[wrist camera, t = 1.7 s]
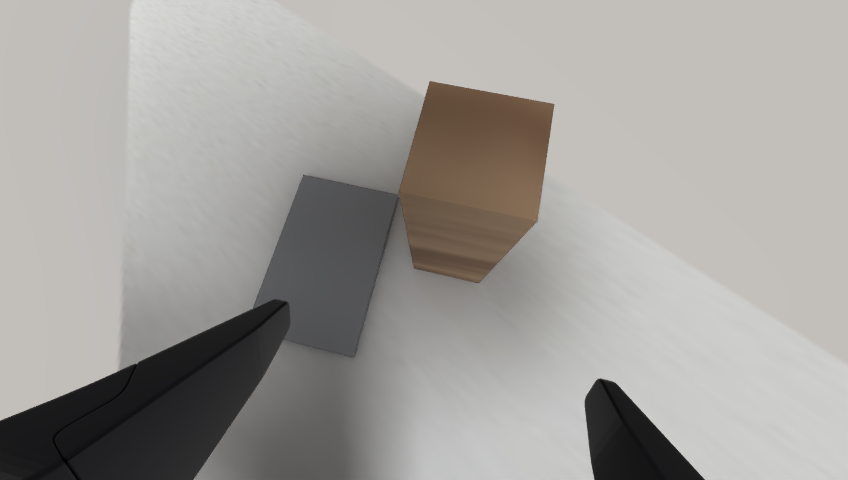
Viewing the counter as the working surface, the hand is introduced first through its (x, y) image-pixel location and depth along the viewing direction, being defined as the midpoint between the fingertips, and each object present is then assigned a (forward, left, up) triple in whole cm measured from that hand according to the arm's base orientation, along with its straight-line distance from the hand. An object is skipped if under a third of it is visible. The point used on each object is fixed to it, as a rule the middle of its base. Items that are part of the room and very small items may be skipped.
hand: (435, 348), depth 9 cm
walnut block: (+7, 0, -12) cm, 13 cm away
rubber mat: (+4, +8, -12) cm, 15 cm away
